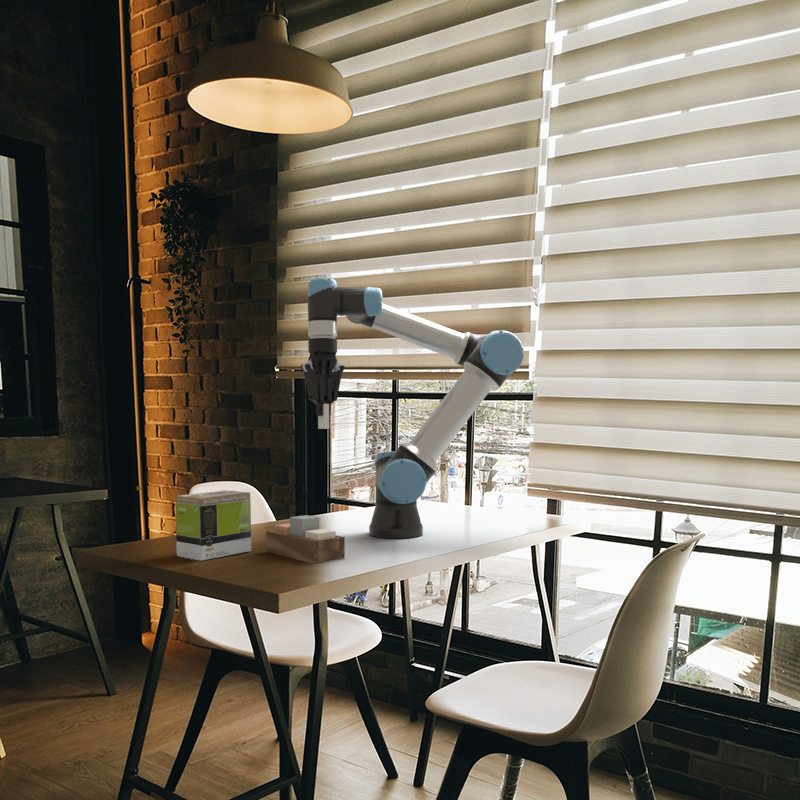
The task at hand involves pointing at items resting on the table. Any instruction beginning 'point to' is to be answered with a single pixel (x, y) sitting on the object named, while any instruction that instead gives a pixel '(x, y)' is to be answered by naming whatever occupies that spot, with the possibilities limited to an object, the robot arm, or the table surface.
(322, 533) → the cream block
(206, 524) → the tea box
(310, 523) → the blue-grey block
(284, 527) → the salmon pink block
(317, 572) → the table surface
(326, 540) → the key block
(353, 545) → the table surface
